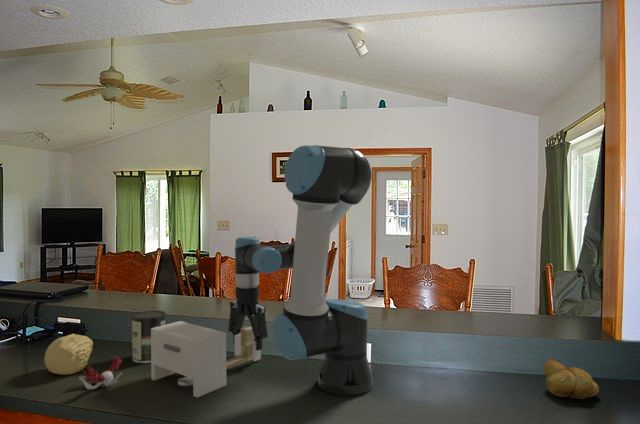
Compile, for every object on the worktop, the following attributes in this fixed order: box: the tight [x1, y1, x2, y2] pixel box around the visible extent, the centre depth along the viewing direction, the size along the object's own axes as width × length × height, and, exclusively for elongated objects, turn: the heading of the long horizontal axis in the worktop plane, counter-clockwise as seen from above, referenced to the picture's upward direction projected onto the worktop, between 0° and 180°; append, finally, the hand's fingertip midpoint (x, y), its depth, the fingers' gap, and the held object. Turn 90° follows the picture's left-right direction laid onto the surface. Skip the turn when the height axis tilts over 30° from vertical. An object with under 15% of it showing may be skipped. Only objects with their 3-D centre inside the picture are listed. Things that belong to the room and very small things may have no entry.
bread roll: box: [543, 359, 600, 400], centre depth 123 cm, size 13×10×8 cm
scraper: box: [226, 325, 255, 371], centre depth 143 cm, size 8×18×10 cm, turn 144°
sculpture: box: [44, 333, 94, 376], centre depth 138 cm, size 11×12×11 cm
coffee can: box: [131, 310, 167, 364], centre depth 150 cm, size 10×10×14 cm
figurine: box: [78, 354, 123, 390], centre depth 128 cm, size 15×12×7 cm
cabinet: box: [150, 320, 227, 398], centre depth 130 cm, size 20×11×14 cm, turn 54°
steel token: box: [176, 376, 193, 388], centre depth 130 cm, size 5×5×1 cm
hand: (247, 356), depth 149 cm, fingers open, 8 cm apart
